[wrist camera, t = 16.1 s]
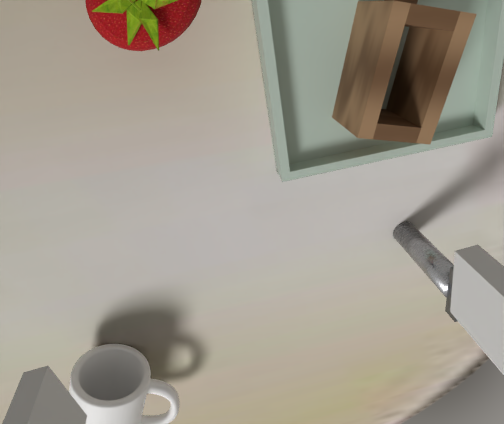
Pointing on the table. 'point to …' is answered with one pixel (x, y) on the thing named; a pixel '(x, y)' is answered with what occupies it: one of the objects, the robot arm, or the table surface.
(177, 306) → the table surface
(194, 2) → the strawberry
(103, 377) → the mug
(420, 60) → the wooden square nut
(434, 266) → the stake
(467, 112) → the tray
